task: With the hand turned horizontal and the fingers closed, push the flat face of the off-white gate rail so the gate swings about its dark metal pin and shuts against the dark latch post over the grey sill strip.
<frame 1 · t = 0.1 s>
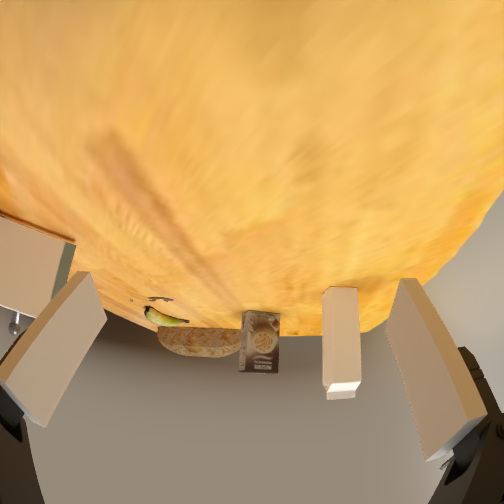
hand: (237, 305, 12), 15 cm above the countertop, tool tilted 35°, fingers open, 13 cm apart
coffee box: (260, 313, 78), on the countertop
gate: (11, 277, 33), point 9 cm above the countertop, hinge at 45.0°
latch post: (32, 250, 46), on the countertop
bread: (201, 329, 106), on the countertop
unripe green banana: (165, 311, 85), on the countertop
milk: (338, 290, 58), on the countertop
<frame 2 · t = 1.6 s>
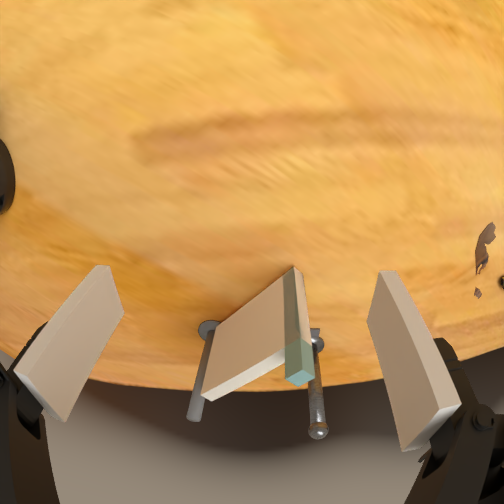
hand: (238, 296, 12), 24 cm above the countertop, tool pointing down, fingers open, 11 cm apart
gate: (244, 350, 35), point 9 cm above the countertop, hinge at 45.0°
latch post: (310, 344, 47), on the countertop
sill: (213, 331, 46), on the countertop
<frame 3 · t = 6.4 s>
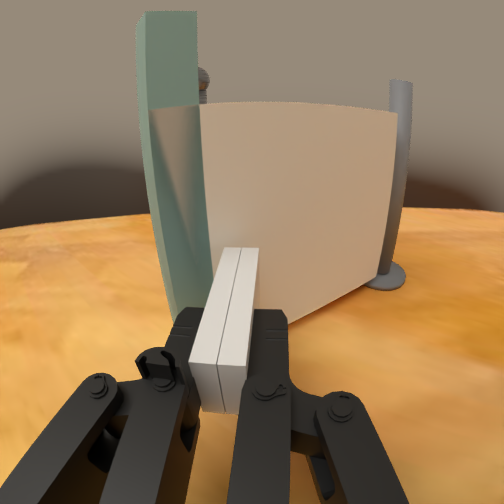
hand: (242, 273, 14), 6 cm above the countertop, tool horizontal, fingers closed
gate: (321, 185, 16), point 9 cm above the countertop, hinge at 37.1°
latch post: (207, 256, 28), on the countertop
sill: (378, 274, 25), on the countertop
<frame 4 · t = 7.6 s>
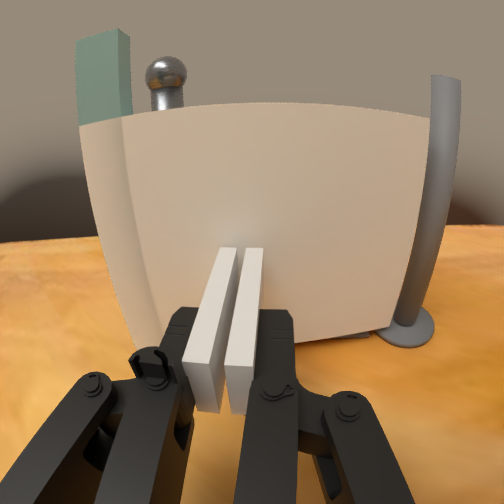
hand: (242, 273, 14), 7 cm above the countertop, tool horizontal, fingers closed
gate: (298, 203, 14), point 9 cm above the countertop, hinge at 11.6°, touching gripper
latch post: (191, 298, 23), on the countertop
sill: (402, 323, 19), on the countertop
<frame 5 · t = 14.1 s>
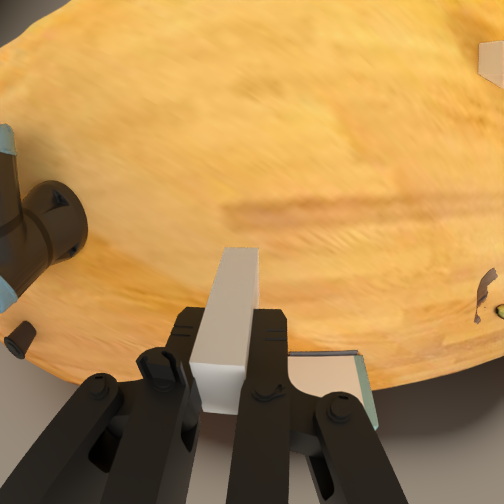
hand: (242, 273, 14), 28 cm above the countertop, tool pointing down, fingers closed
gate: (320, 392, 48), point 9 cm above the countertop, hinge at -0.8°
sill: (274, 355, 56), on the countertop
milk: (490, 65, 26), on the countertop
coffee cup: (30, 327, 63), on the countertop
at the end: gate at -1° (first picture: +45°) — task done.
